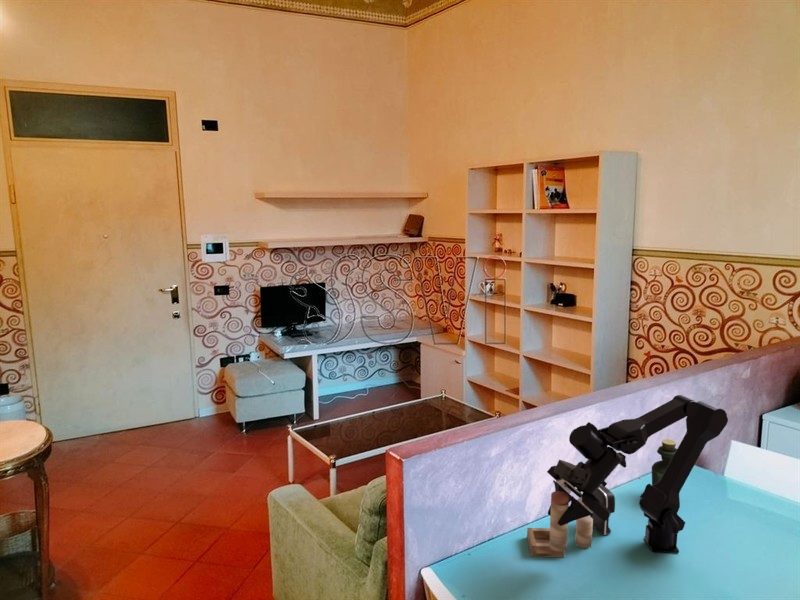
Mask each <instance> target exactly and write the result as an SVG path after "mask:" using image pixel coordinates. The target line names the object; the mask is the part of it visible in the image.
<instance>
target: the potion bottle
mask: <svg viewBox="0 0 800 600" xmlns="http://www.w3.org/2000/svg"><path fill="white" fill-rule="evenodd" d="M676 445H677V441H675V440H673V439H669V438H664V439H662V440H661V445H660V446H658V448H657V450H656V452H657V454H658V455H660V457H661V460H658V461H655V462H654V463H653V464H652V466H651V485H654V484H656V483H658V482H659V481H660V480H661V478H662V476H663V474H664V472H665V471H666V469H667V467H668V465H669V463H670V461H671V460H672V458H673V456H674V454H675V452H676V450H677V449H678V448H676Z"/></svg>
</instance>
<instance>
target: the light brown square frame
mask: <svg viewBox="0 0 800 600" xmlns="http://www.w3.org/2000/svg"><path fill="white" fill-rule="evenodd" d="M526 532H527V534H526V540H527V545H528V548H529V553H530V557H544V558H545V557H547V558H549V557H550V558H551V557H552V558H564V557H565V550H564V551H556V550H553V549H551V548H550V546H549V541H550V527H549V528H548V527H544V528H543V527H540V528H539V527H527V531H526Z"/></svg>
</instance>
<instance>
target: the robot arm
mask: <svg viewBox="0 0 800 600" xmlns="http://www.w3.org/2000/svg"><path fill="white" fill-rule="evenodd" d="M684 418H686V419H685V425H686V426H685V427H686V432H685V434H684V436H683V438H682V439H681V442H680V443H679V445H678V447H677V448H676V449H677V450H676V452H675V454H674V456H673V458H672V460H671V461H670V463H669V465H668V467H667V469H666V471H665V472H664V474H663V476H662V478H661V480H660V481H659V482H658V483H656V484H654V485H652V483H648V484H646V485H645V488H644V490H643V492H642V494H640V495H639V497H640V500H639V503H638V504H639V506H640V510H641V512H642V513H643V516H644V517H646V518H647V524H645V530H644V531H645V533H644V540H645V542H646V544H647V546H649V548H650V550H651V552H653V553H672V554H673V553H674V554H677V553H680V549H679V548H678V546H677V543H678V534H679V532H681V531H683V530H684V528H685V525H686V521H685V520H684V519H683V518H682V517H680V515H678V513H679V510H680V507H681V502H680V493H681V491H682V488H683V487H684V485H685V483H686V482H687V480H688V477H689V476H690V474H691V472H692V470H693V469H694V467H695V465H696V463H697V461H698V459H699V458H700V455H701V454H702V452H703V450H704V448H705V447H706V444H707V443H708V442H710V441H712V440H713V439H716V438H717V437H719V436H720V435H721V433H722V431H723V430H724V429H725V428H726V426H727V424H728V421H729V418H728V413H727V411H726V410H724V409H723V408H720V407H718V406H715V405H713V404H711V403H708V402H707V401H704V400H698V401H695V400H694V399H691V398H689V397H687V396H685V395H682V394H679V395H678V394H677V395H675V396H674V397H673V398H672V399H671V400H669V401H667V402H665V403H663V404H661V405H659V406H658V407H655V408H654V409H652V410H650V411H648V412H646V413H645V414H644V413H643V415H641V416H638V417H637V418H628V419H621V420H619V421H615V422H612V423H611V424H610V425H608V426H605V427H603V428H599V429H598V428H597V427H596V426H595V424H593V423H592V422H587V423H586V424H585V425H579V426H578V427H576V428H574V429H573V430H572V431H571V433H570V434H569V438H568V439H569V440H568V441H569V443H570V444H571V446H572V447H573V448H574V449H576V451H577V452H579V453H580V454H581V455H582V456H583V457H584V458H585V459H587V460H586V461H585V462H583V461H579V462H577V464H576V465H575V464H573V463H570V462H569V461H565V460H562V459H558V461H557V464H556V465H552V466H551V467H550V468H549V469H548V470H547V471H546V472H547V474H549V476H550V477H552V478H553V481H552V483H553V484H554V489H555V491H561V492H565V493H567V494H568V495H569V503H570V504H569V507H568V509H567V510H566V511H565V513H564V514H563V515H562V516H561V518H560V519H559V521H558V524H559V525H560V526H562V525H565V524H567V523H568V524H569V523H571V522H574V521H575V522H576V520H577V519H580V518H583V517H587V516H592V517H593V516H594V515H593V514H592V513H593V512H594V513H595V514H596V515H597V516H598V517H599V518H600V519H601V520H602V521H604V522H605V521H606V520H607V519H608V518H609V519H610V516H611V515H610V510H609V509H608V508H607V507H606V506H605V505H603V504H602V503H601V502H600V501H599V500H598V499H597V498H596V497H595V496H594V495H593V494H594V492H595V491H596V490H597V489H598V488H599V487H600V485H603V486H604V487H606V486H607V485H608V482H606V480H607V478H608V477H609V476H610V475H611V474H612V472H613V471H615V469H617V468H616V467H618V465H620V466H621V467H622V468H623V469H624V468H626V467H627V461H626V455H632V454H634V453H636V452H637V451H639V450H640V449H642V448H643V447H644V446H645V445H646V443H647V441H648V438H651V436H653V435H655V434H657V433H658V432H660V431H663V430H664V429H665V428H667V427H669V426H672V425H674V424H675V423H677V422H679V421H680V420H682V419H684ZM625 454H626V455H625ZM555 491H554V492H555ZM571 493H573V494H574V495H575V496H577V497H578V498H575V497H574V496H573V495H571ZM550 514H551V504H550V506H549V509H548V512H547V515H549V516H550Z"/></svg>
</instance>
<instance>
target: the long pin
mask: <svg viewBox="0 0 800 600" xmlns="http://www.w3.org/2000/svg"><path fill="white" fill-rule="evenodd" d="M550 495H551V496H550V505H551V514H550V515H549V516H550V518H549V521H550V522H549V528H550V541H549V546H550V548H551V549H553V550H556V551H564V552H565V551H566V550H567V549H568V548H567V547H568V529H569V528H568V527H569V525H568V524H569V523H567V524H565V525H562V526H560V525H559V524H558V521H559V519H560V518H561V516H562V515H563V514H564V513H565V511H566V510H567V509H568V507H569V506H570V502H569V495H568V494H567V493H565V492H561V491H553V492H551V494H550Z"/></svg>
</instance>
